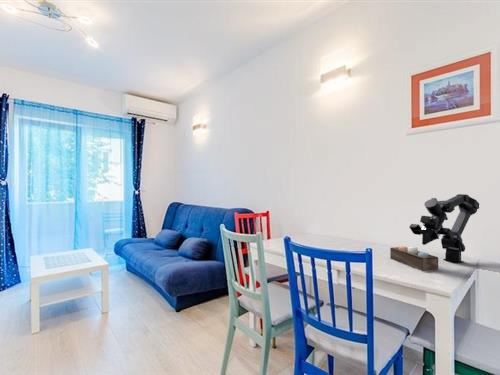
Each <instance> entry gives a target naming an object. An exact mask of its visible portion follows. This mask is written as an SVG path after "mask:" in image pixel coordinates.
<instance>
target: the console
mask: <svg viewBox="0 0 500 375" xmlns="http://www.w3.org/2000/svg"><path fill="white" fill-rule="evenodd" d="M419 252H420V251H418V253H419ZM389 253H390V255H389V256H390V257H389V258H390V259H391V260H394V261H397V262H398V263H400V264H404V265H406V266H408V267H412V268H414V269H416V270H419V271H439V256H436V255H432V254H429V257H421V256H418V253H413V254H412V253H409V252H408V247H407V250H399V249H398V246H397V247H390V252H389Z"/></svg>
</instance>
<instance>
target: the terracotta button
mask: <svg viewBox="0 0 500 375" xmlns="http://www.w3.org/2000/svg"><path fill="white" fill-rule="evenodd" d="M397 247H398V249H399V250H407V248H408V246H403V245H402V246H401V245H400V246H397Z"/></svg>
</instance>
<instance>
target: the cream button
mask: <svg viewBox="0 0 500 375" xmlns="http://www.w3.org/2000/svg"><path fill="white" fill-rule="evenodd" d="M407 248H408V252H409V253H412V254H413V253H418V249H419V248H418V247H416V246H407Z"/></svg>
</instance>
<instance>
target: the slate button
mask: <svg viewBox="0 0 500 375" xmlns="http://www.w3.org/2000/svg"><path fill="white" fill-rule="evenodd" d="M429 255H430V253H427V252H422V251H419V253H418V256H421V257H429Z"/></svg>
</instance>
